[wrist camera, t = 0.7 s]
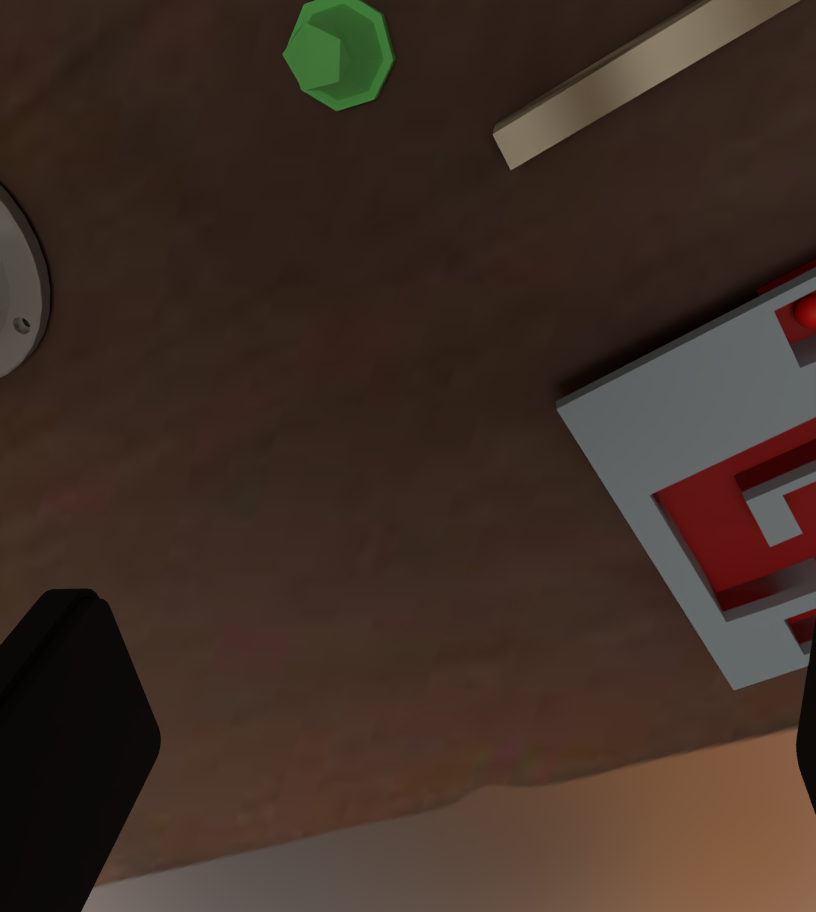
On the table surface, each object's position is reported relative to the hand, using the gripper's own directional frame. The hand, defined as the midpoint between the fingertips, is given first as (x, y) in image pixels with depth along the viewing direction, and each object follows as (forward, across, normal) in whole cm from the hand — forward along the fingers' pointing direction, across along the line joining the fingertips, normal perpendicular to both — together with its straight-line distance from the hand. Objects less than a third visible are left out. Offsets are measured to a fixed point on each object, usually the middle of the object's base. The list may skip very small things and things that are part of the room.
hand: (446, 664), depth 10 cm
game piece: (+28, +6, -7) cm, 29 cm away
